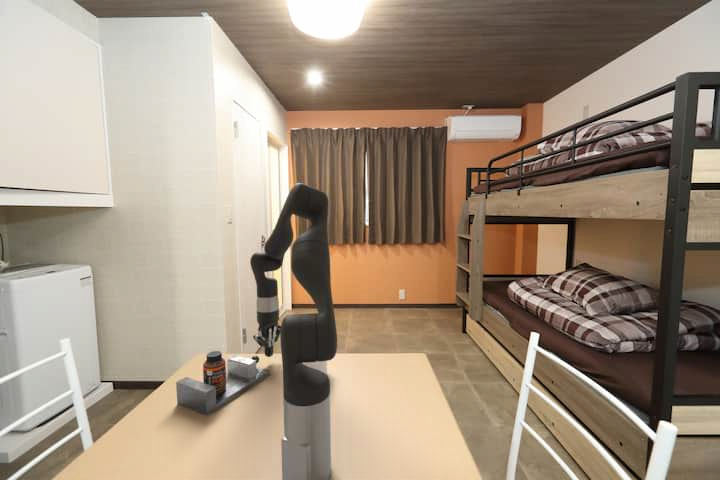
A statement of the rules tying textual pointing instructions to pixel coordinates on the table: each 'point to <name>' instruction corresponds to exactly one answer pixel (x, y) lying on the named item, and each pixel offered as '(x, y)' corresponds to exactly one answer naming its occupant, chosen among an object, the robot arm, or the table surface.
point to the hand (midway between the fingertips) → (269, 355)
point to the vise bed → (213, 391)
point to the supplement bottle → (215, 371)
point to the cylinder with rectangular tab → (318, 366)
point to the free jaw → (242, 366)
